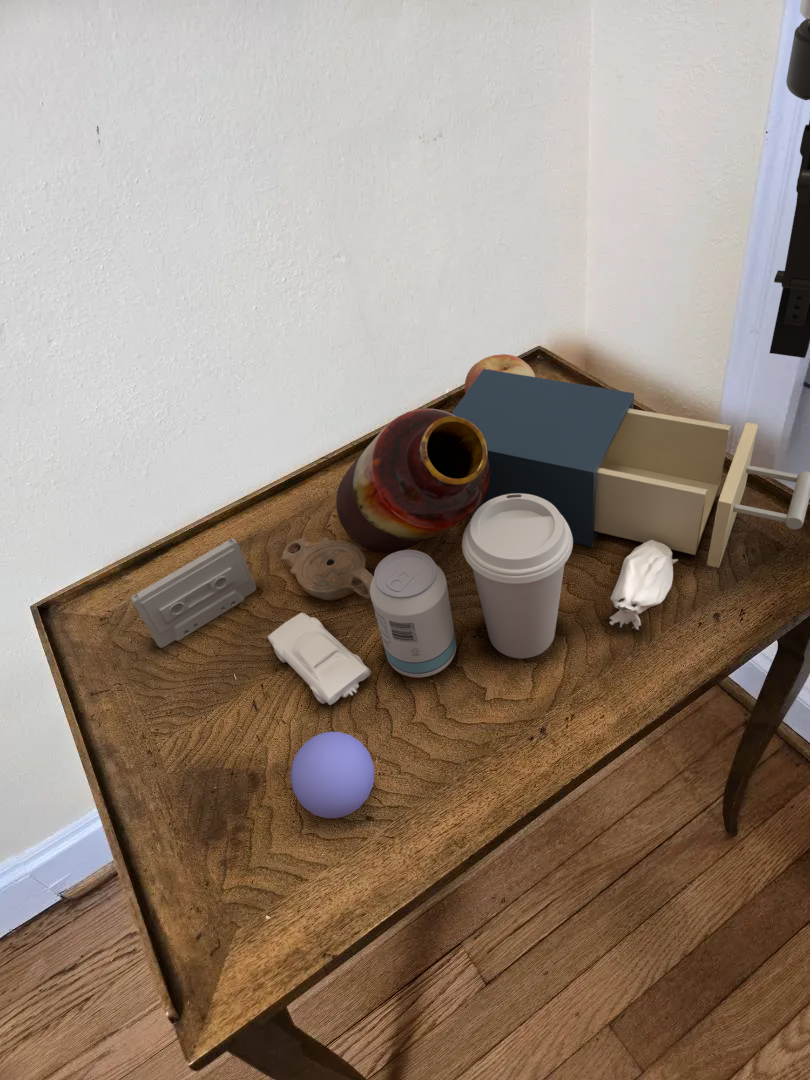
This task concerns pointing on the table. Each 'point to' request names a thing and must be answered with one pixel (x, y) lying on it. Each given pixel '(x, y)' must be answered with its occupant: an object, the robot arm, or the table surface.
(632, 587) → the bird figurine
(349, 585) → the oil lamp
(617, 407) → the cabinet
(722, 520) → the drawer
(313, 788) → the sphere
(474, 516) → the coffee cup
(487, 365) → the apple
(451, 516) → the vase
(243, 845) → the table surface
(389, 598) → the beverage can
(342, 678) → the toy car
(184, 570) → the cassette
